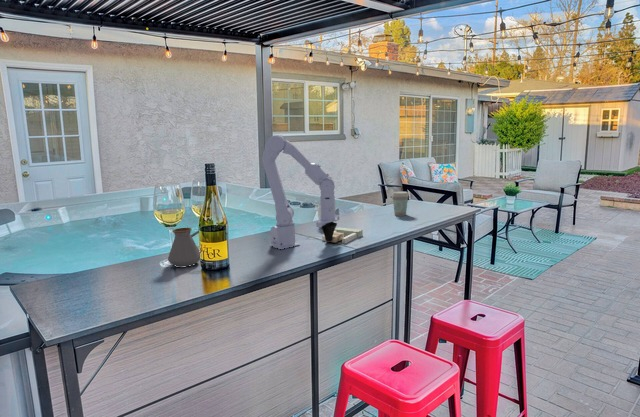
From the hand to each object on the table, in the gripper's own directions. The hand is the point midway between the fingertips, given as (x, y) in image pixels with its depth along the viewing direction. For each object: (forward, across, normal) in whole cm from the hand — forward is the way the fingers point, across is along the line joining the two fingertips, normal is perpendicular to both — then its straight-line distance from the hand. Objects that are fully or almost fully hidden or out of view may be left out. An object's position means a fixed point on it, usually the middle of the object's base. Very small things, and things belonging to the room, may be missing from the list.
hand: (328, 240), depth 172 cm
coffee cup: (+2, +65, -4) cm, 65 cm away
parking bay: (+1, +11, 0) cm, 11 cm away
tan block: (+1, +4, 0) cm, 5 cm away
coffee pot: (+2, -40, +31) cm, 51 cm away
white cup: (+2, +26, +17) cm, 31 cm away
